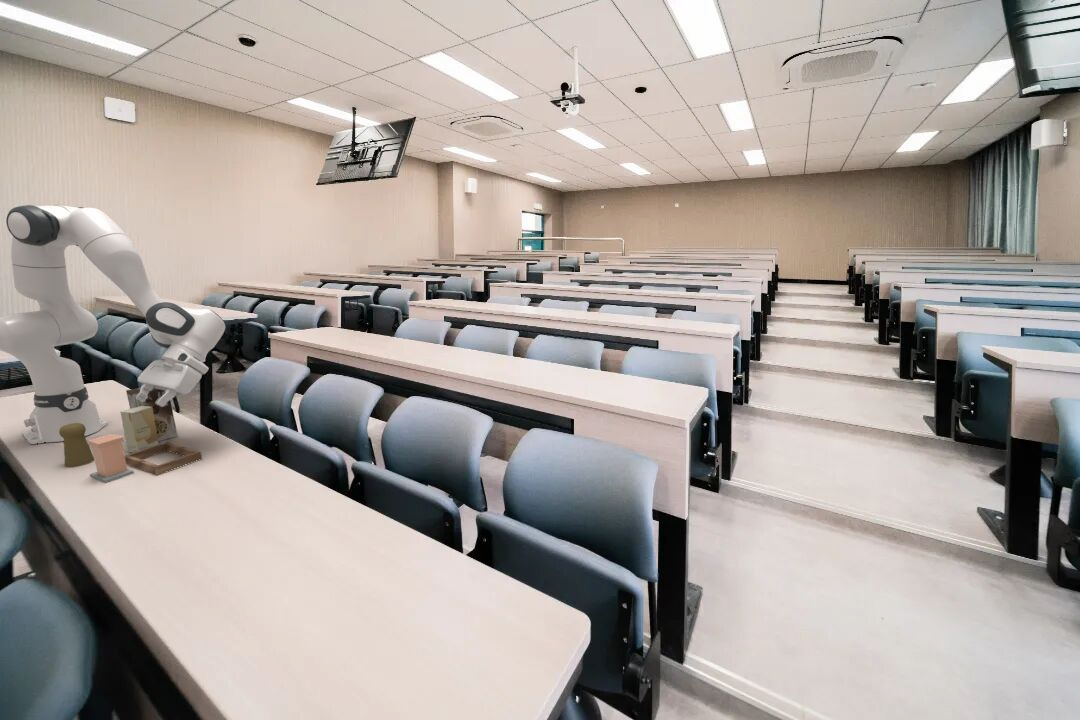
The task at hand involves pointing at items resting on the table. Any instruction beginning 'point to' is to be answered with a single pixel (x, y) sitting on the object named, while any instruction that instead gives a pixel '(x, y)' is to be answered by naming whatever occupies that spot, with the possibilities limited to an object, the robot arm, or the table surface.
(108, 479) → the slate mat
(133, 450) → the skincare box
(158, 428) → the coffee box
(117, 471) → the peach upright block
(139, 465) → the walnut frame
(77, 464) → the cork
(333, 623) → the table surface
